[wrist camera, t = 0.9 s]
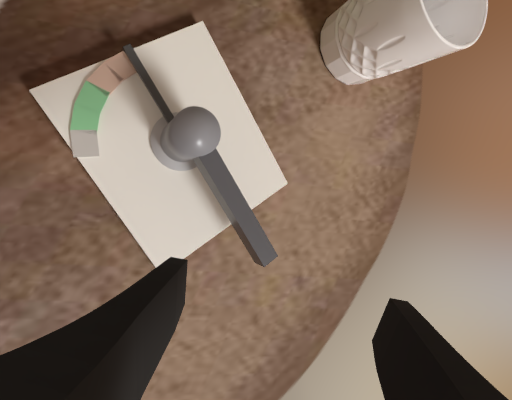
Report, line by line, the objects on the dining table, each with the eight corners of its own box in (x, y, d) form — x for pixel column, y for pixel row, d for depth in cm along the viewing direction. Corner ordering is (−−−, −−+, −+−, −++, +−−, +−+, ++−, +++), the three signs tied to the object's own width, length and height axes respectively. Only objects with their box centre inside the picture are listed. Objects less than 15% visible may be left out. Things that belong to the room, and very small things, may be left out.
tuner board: (156, 273, 22) (159, 277, 21) (29, 95, 18) (24, 89, 17) (281, 183, 26) (288, 183, 25) (198, 27, 23) (203, 18, 21)
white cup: (353, -8, 29) (463, -95, 20) (387, 68, 32) (500, 19, 23) (298, 28, 27) (398, -55, 18) (340, 107, 29) (447, 69, 20)
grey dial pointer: (104, 57, 19) (105, 26, 15) (145, 41, 20) (154, 8, 16) (233, 263, 23) (258, 276, 19) (261, 241, 24) (289, 249, 20)
